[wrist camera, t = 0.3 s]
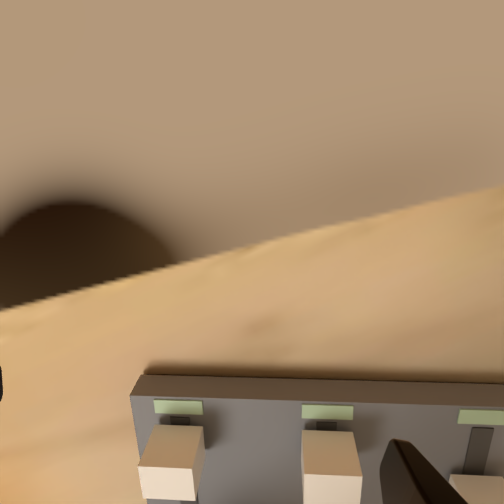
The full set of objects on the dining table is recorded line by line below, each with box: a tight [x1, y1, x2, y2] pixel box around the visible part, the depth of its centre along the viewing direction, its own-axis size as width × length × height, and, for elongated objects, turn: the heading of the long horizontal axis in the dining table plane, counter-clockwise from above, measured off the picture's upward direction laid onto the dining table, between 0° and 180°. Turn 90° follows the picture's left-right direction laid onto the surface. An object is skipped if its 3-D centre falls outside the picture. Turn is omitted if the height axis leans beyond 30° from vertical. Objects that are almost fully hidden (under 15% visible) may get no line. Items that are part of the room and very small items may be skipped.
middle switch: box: [301, 430, 363, 504], centre depth 22 cm, size 2×3×3 cm
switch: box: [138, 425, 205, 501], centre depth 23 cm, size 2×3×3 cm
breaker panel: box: [130, 375, 504, 504], centre depth 26 cm, size 12×25×2 cm, turn 92°
